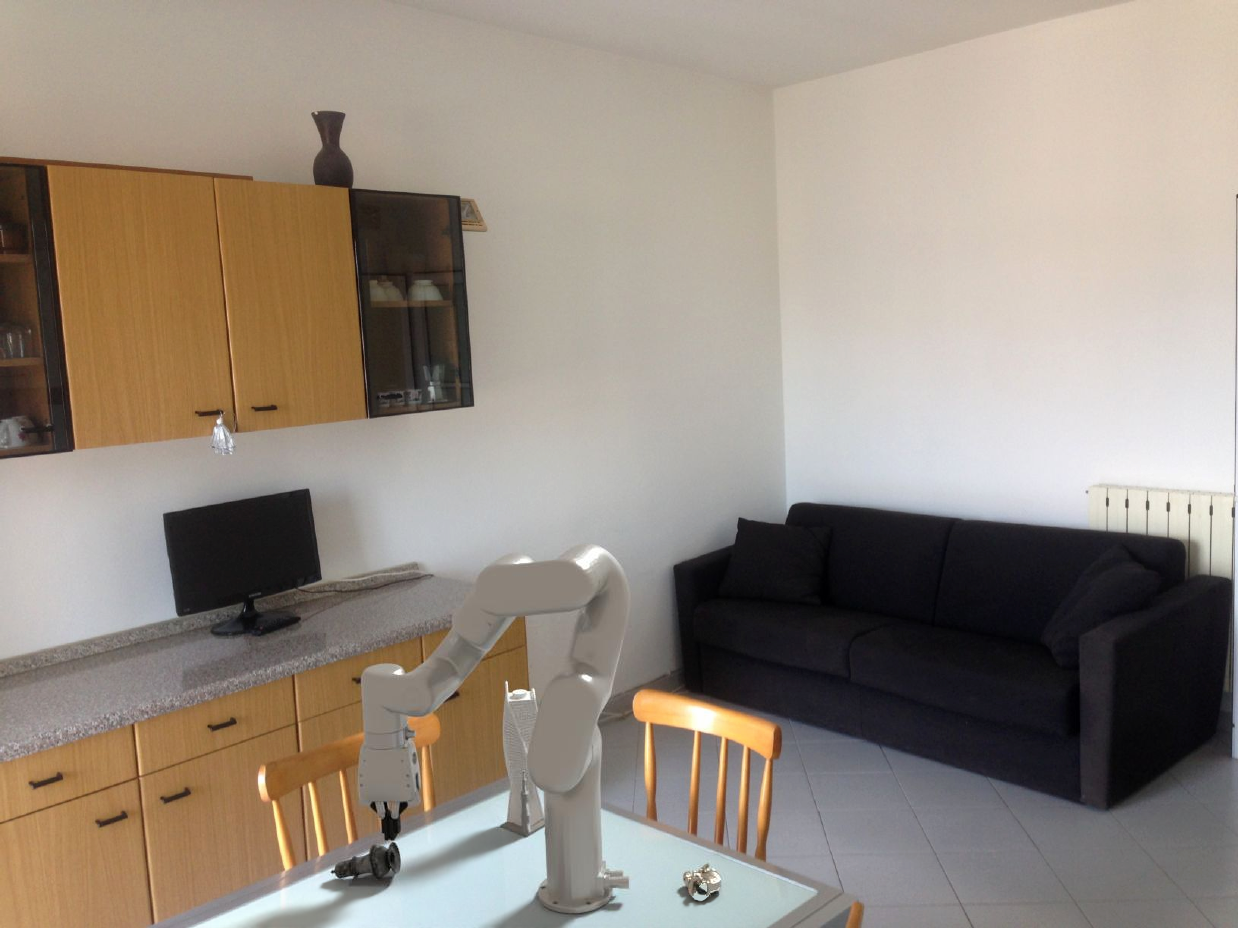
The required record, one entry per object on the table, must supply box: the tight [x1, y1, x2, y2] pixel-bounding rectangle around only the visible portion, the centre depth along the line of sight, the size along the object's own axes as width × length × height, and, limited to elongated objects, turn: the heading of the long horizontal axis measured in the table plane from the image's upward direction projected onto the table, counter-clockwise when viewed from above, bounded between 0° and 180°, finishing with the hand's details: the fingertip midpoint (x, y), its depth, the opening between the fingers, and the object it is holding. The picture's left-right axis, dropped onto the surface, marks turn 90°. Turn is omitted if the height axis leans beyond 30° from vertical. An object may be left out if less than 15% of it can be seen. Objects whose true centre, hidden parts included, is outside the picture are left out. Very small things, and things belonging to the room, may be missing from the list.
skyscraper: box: [499, 680, 545, 838], centre depth 200 cm, size 8×8×28 cm
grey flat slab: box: [348, 869, 397, 887], centre depth 182 cm, size 7×5×1 cm
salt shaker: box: [330, 841, 402, 879], centre depth 182 cm, size 6×6×12 cm
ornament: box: [682, 863, 722, 896], centre depth 175 cm, size 8×7×4 cm
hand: (391, 836), depth 181 cm, fingers closed
